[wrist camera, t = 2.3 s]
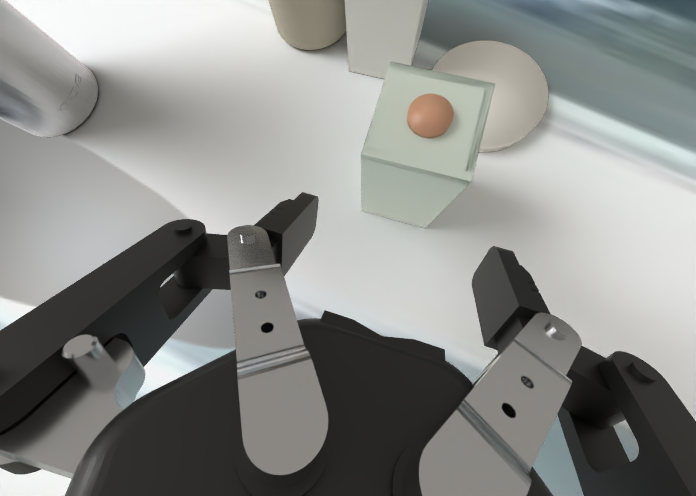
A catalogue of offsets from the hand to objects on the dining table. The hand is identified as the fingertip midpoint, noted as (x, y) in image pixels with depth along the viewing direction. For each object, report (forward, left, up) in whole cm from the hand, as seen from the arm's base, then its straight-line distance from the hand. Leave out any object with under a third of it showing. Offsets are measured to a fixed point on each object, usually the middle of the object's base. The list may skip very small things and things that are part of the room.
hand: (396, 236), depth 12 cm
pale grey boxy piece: (0, +7, -11) cm, 13 cm away
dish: (+5, +18, -11) cm, 22 cm away
